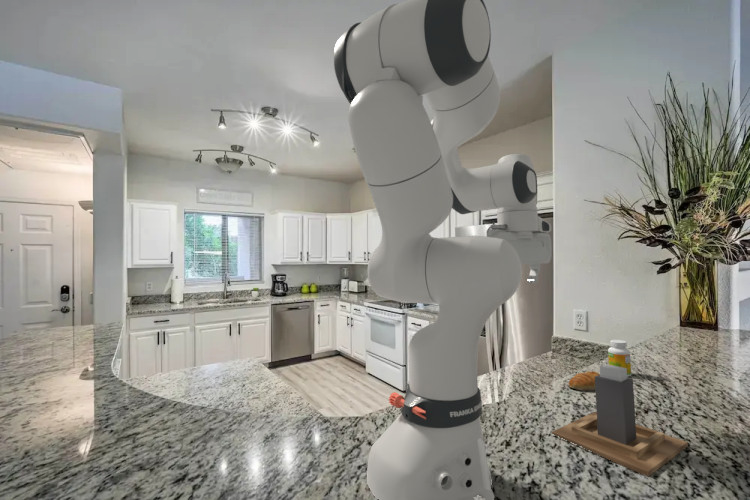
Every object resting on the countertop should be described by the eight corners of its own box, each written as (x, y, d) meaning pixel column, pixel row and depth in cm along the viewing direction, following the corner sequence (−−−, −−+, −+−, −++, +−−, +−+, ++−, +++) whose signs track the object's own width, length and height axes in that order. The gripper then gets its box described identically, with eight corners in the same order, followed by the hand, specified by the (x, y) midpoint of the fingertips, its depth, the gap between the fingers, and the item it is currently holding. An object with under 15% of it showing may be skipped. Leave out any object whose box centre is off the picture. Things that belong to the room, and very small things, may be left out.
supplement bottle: (605, 373, 105) (603, 340, 105) (616, 370, 107) (614, 338, 108) (624, 378, 100) (622, 344, 100) (635, 375, 102) (633, 341, 103)
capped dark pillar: (626, 445, 63) (621, 372, 64) (597, 434, 67) (594, 366, 68) (636, 438, 65) (632, 368, 66) (608, 428, 70) (604, 362, 70)
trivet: (648, 476, 55) (647, 463, 55) (552, 435, 69) (551, 425, 69) (687, 446, 64) (687, 435, 64) (595, 415, 77) (594, 406, 77)
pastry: (584, 395, 90) (583, 379, 90) (561, 387, 96) (560, 372, 96) (608, 388, 93) (607, 374, 93) (584, 381, 99) (583, 367, 100)
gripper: (498, 222, 74) (501, 287, 74) (555, 225, 85) (558, 282, 84) (476, 225, 80) (478, 286, 79) (531, 227, 90) (534, 281, 90)
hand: (520, 284), depth 82 cm, fingers open, 8 cm apart
